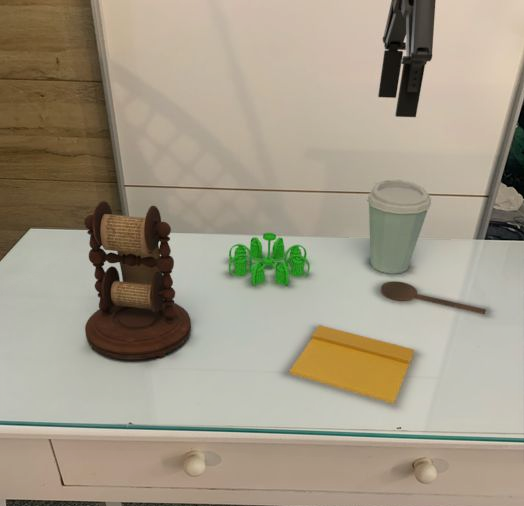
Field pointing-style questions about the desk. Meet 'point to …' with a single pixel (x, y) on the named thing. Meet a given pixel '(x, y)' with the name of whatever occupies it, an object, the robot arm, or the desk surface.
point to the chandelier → (268, 260)
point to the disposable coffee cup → (395, 223)
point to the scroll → (133, 287)
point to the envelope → (354, 363)
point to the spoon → (419, 296)
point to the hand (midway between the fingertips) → (395, 106)
